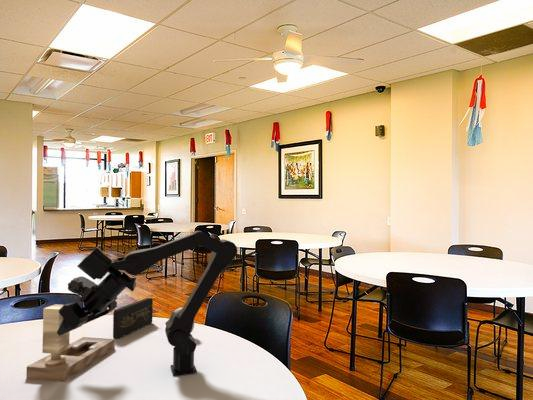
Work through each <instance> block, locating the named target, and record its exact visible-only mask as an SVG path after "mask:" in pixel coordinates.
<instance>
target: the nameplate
mask: <svg viewBox="0 0 533 400" xmlns="http://www.w3.org/2000/svg"><path fill="white" fill-rule="evenodd" d="M153 301H154V299H153V298H152V297H146V298H142V299H140V300H137V301H135V302H132V303H130V304H127V305H124V306H121V307H118V308H115V309H114V310H113V314H112V315H113V316H112V319H113V320H112V322H113V323H112V333H113V334H112V337H113V338H112V339H115V340H120V339H123V338H124V337H126V336H128V335H131V334H133V333H134V332H136V331H138V330H141V329H143V328H145V327H147V326H149V325H151V324H152V323H153V314H154V313H153V305H154V304H153Z"/></svg>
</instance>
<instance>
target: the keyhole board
mask: <svg viewBox="0 0 533 400" xmlns="http://www.w3.org/2000/svg"><path fill="white" fill-rule="evenodd" d="M115 342H116V339H115V338H105V337H90V336H89V337H88V336H87V337H86V336H83V337H81V338H78V339H77V340H75V341H72V342H70V343H69V348H68V349H66V350H65V351H63V352H61V355H64V356H66V362H65V363H63V364H60V365H56V366H47V365H46V364H45V360H46V359H47V358H48V357H51V353H49V354H48V355H47V356H44V357H43V358H40V359H39V360H36V361H35V362H33V363H31V364H28V365H27V366H26V376H25V378H26V379H28V380H41V381H42V380H43V381H53V382H63V383H64V382H67V381H69V380H70V379H71V378H72V377H74V376H75V375H77V374H78V373H80V372H81V371H83V370H84V369H86V368H88V367H90V366H91V365H92V364H94V363H95V362H97V361H98V360H100V359H101V358H103V357H105V356H107V355H108V354H109V353H111V352H112V351H113V350H115V347H116V346H115V345H116V343H115Z"/></svg>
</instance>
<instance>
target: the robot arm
mask: <svg viewBox="0 0 533 400" xmlns="http://www.w3.org/2000/svg"><path fill="white" fill-rule="evenodd" d="M196 247H203V248H205V249H206V250H209V251H211V252H210V255H209V258H208V262H207V265H206V267H205V270H204V271H203V273H202V274H201V276H200V277H199V279H198V280H197V282H196V285H195V286H194V288H193V289H192V292H190V295H189V297H188V298H187V300H186V302H185V303H184V305H183V307H181V308H182V309H181V310H180V311H179V312H178V313H175V312H174V311H175V310H173V311H172V312H171V313H170V314H171V315H170V317H169V319H168V320H167V321H166V322H165V329H164V330H165V331H164V332H165V336H166V339H167V341H168V343H169V345H171V347H173V350H172V351H173V352H172V353H173V354H172V355H173V357H172V362H173V363H172V364H170V370H171V374H172V376H180V375H187V374H189V375H190V374H195V373H198V369H197V367H196V365H195V351H196V348H197V346H198V345H197V343H196V341H195V339H194V337H193V334H191V333H192V332H191V330H192V327H193V323H195V318H196V316H197V314H198V313H199V310H200V309H201V307H202V306H203V304H204V302H205V300H206V298H208V295H209V294H210V292H211V290H212V288H213V287H214V285H215V283H216V281H217V279H218V278H219V276H220V275H221V273H222V272H223V271H224V270H225V269H227V267H228V266H230V264H231V263H232V262H233V261H234V259H235V258H236V257H237V255H238V247H237V246H236V244H235V243H234V242H233V241H231V240H227V239H217V238H215V237H214V236H210V235H208V234H206V233H205V232H204V231H200V230H195V231H193V232H192V233H190V234H186V235H185V236H182V237H179V238H177V239H173V240H171V241H168V242H166V243H163V244H160V245H157V246H154V247H150V248H143V249H142V248H141V249H138V250H133V251H129V252H128V253H126V254H125V255H124V256H122V257H116V258H112V259H111V258H110V256H108V255H107V254H106V253H105V252H103V251H102V250H101V248H100V247H98V246H96V247H95V248H94V249H93V250H92V251H91V252H90V253H89V254H87V256H85V257H84V258H83V259H82V260H81V261H80V263H79V264H78V265H76V266H77V268H79V270H81V271H82V272H84V274H86V275H87V276H88V277H90V278H91V279H92V280H93V281H92V280H91V279H90V278H88V277H85V276H77V277H74V278H73V279H71V281H70V282H68V283H67V290H68V291H69V292H71V293H73V294H75V295H78V296H80V297H79V301H81V303H83V306H82V307H81V305H80V304H79V303H78V302H76V301H72V302H69V303H66V304H62V305H63V306H62V308H61V309H60V310H59V313H60V314H61V316H62V317H63V320H62V323H61V325H60V327H59V329H58V331H57V334H58V335H59V336H60V335H62V334H65V333H67V332H69V331H70V332H71V331H73V330H76V329H79V328H81V327H82V326H84V325H85V324H87V323H90V322H93V321H95V320H96V319H99V318H101V317H103V316H106V315H108V314H109V313H111V312H114V310H115V309H117V307H118V302H117V299H118V296H119V295H120V294H121V293H123V292H124V290H125V289H128V290H129V291H131V292H133V291H134V290H135V289H136V287H137V278H136V277H131V276H136V275H140V274H141V273H144V271H146V270H149V269H150V268H152V267H153V266H155V264H157V263H159V262H161V261H163V260H165V259H167V258H168V259H169V258H170V257H173V256H177V255H179V254H181V253H184V252H187V251H188V250H192V249H193V248H196ZM107 273H108V274H107ZM106 274H107V276H106ZM129 275H131V276H129ZM105 276H106V277H105ZM104 277H105V278H104ZM102 279H103V280H102ZM95 280H101V282H99V284H97V283H95V282H94V281H95Z"/></svg>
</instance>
